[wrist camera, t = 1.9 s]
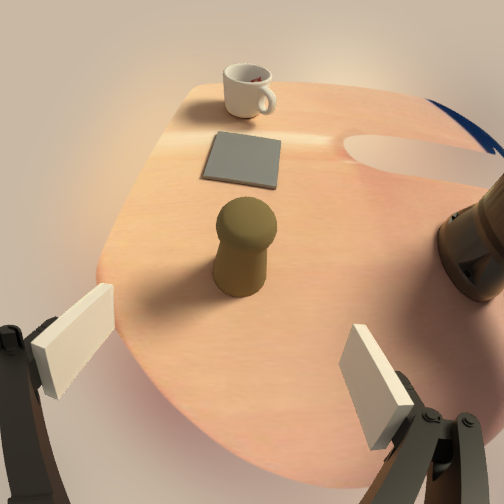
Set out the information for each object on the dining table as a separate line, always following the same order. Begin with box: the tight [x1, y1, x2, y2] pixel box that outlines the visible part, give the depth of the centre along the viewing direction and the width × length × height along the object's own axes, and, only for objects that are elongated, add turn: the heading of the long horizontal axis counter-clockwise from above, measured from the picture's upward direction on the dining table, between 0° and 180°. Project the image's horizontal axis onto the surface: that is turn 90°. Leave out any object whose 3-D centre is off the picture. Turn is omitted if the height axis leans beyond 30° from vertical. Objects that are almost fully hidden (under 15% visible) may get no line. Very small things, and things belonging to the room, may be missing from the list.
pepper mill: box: [213, 197, 277, 297], centre depth 29 cm, size 6×6×11 cm
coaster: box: [203, 131, 281, 189], centre depth 42 cm, size 10×10×1 cm
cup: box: [223, 63, 277, 118], centre depth 45 cm, size 11×8×8 cm
